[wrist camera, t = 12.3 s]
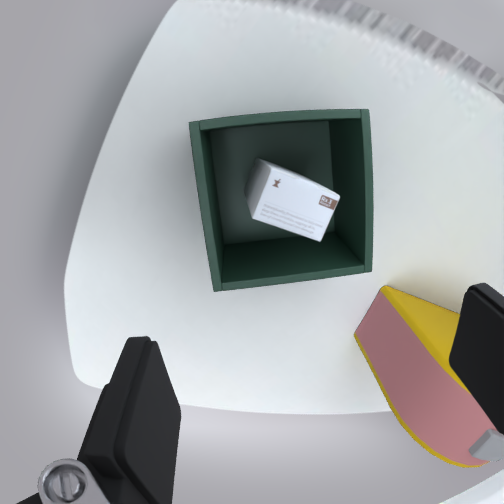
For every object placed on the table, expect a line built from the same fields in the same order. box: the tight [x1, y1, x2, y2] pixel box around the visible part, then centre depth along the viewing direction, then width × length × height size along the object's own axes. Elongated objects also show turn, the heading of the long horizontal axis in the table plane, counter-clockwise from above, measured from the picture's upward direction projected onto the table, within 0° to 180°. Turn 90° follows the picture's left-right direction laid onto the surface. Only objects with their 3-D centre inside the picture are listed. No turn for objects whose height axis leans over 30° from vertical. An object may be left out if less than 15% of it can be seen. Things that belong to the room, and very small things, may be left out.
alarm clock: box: [354, 286, 504, 467], centre depth 33 cm, size 21×9×26 cm, turn 68°
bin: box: [189, 109, 373, 292], centre depth 31 cm, size 15×15×11 cm
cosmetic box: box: [244, 158, 340, 242], centre depth 30 cm, size 6×4×12 cm
